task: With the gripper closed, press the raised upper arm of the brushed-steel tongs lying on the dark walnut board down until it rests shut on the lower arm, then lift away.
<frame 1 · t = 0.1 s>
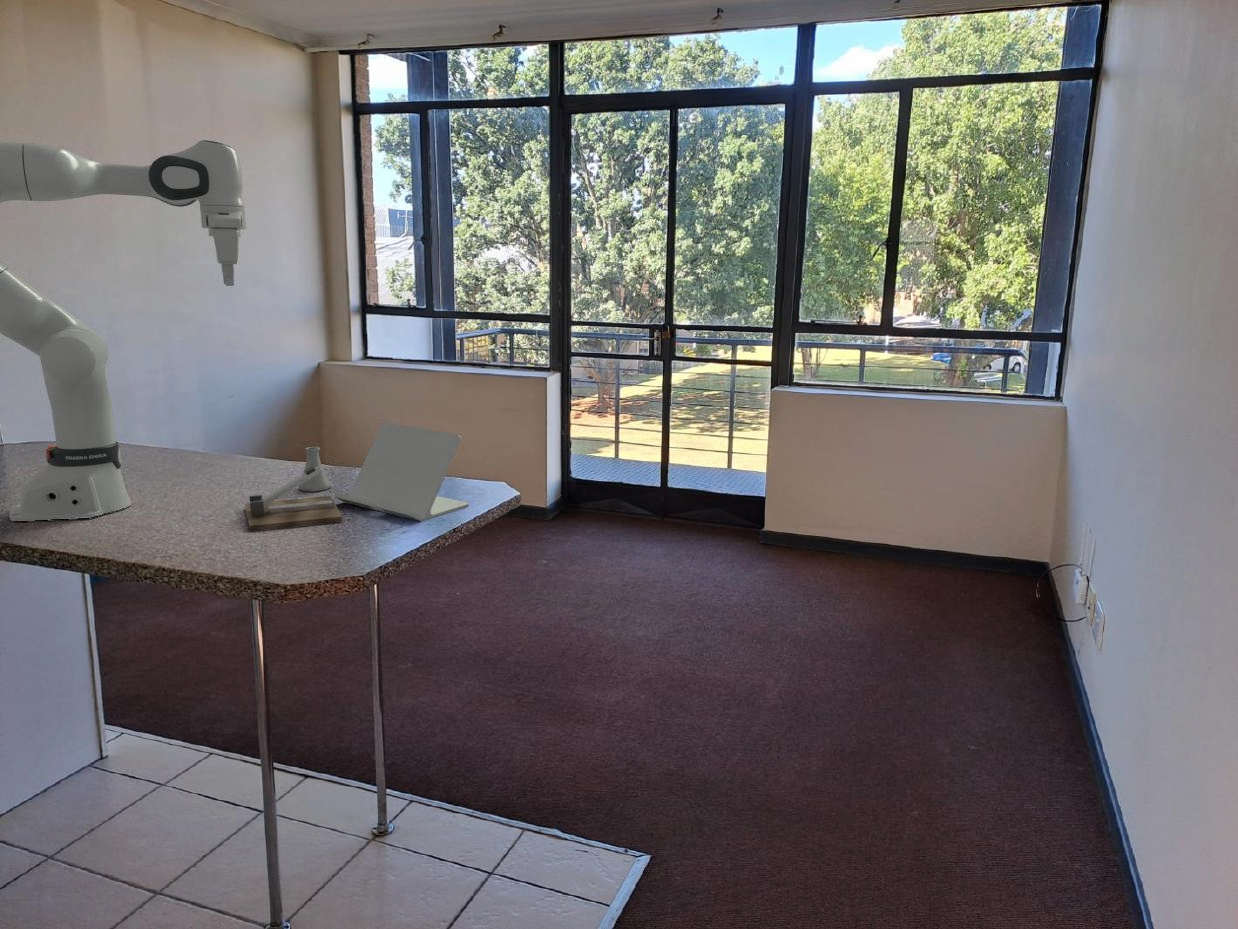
hand: (228, 285, 194), 48 cm above the countertop, tool pointing down, fingers open, 8 cm apart
upper tong arm: (286, 488, 187), point 6 cm above the countertop, hinge at 28.0°
walnut board: (292, 515, 189), on the countertop
flask: (315, 489, 211), on the countertop
tablet stand: (401, 507, 198), on the countertop
lower tong arm: (257, 518, 186), resting on walnut board
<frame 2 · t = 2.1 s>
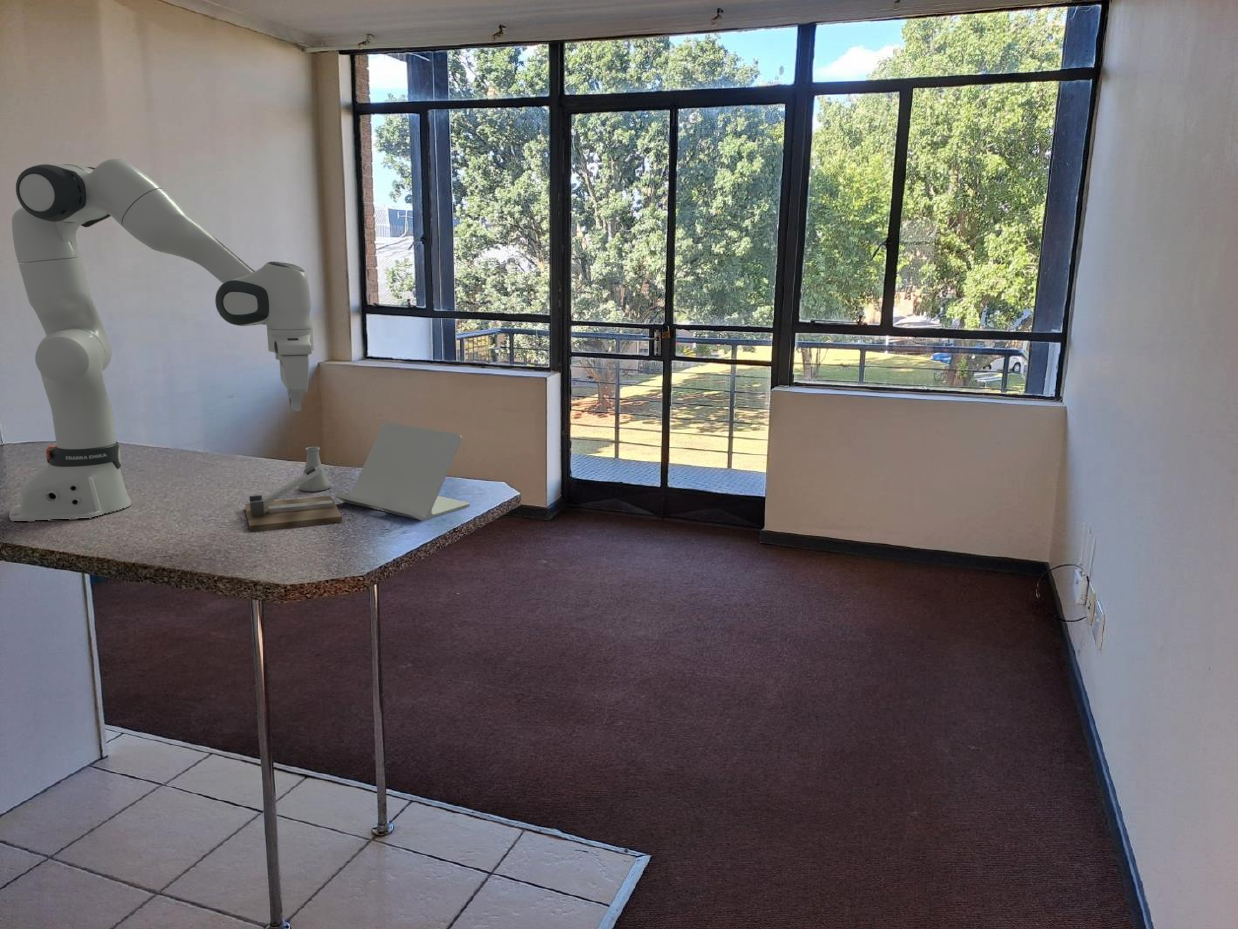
hand: (295, 408, 184), 23 cm above the countertop, tool pointing down, fingers open, 4 cm apart
nothing on the countertop moved.
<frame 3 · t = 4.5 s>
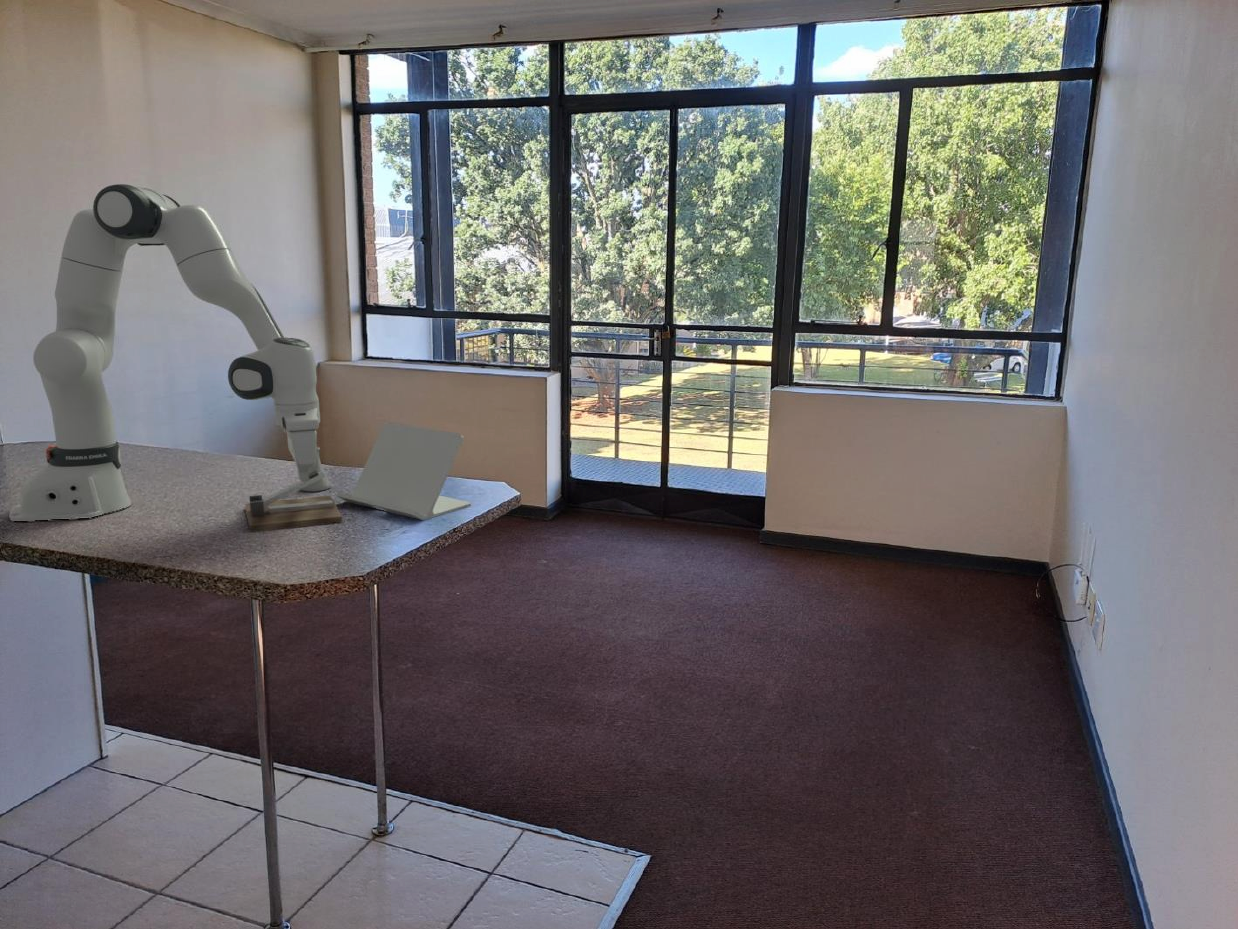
hand: (303, 479, 188), 8 cm above the countertop, tool pointing down, fingers closed, pressing on upper tong arm
upper tong arm: (288, 490, 187), point 6 cm above the countertop, hinge at 22.9°, touching gripper
everything else where it was.
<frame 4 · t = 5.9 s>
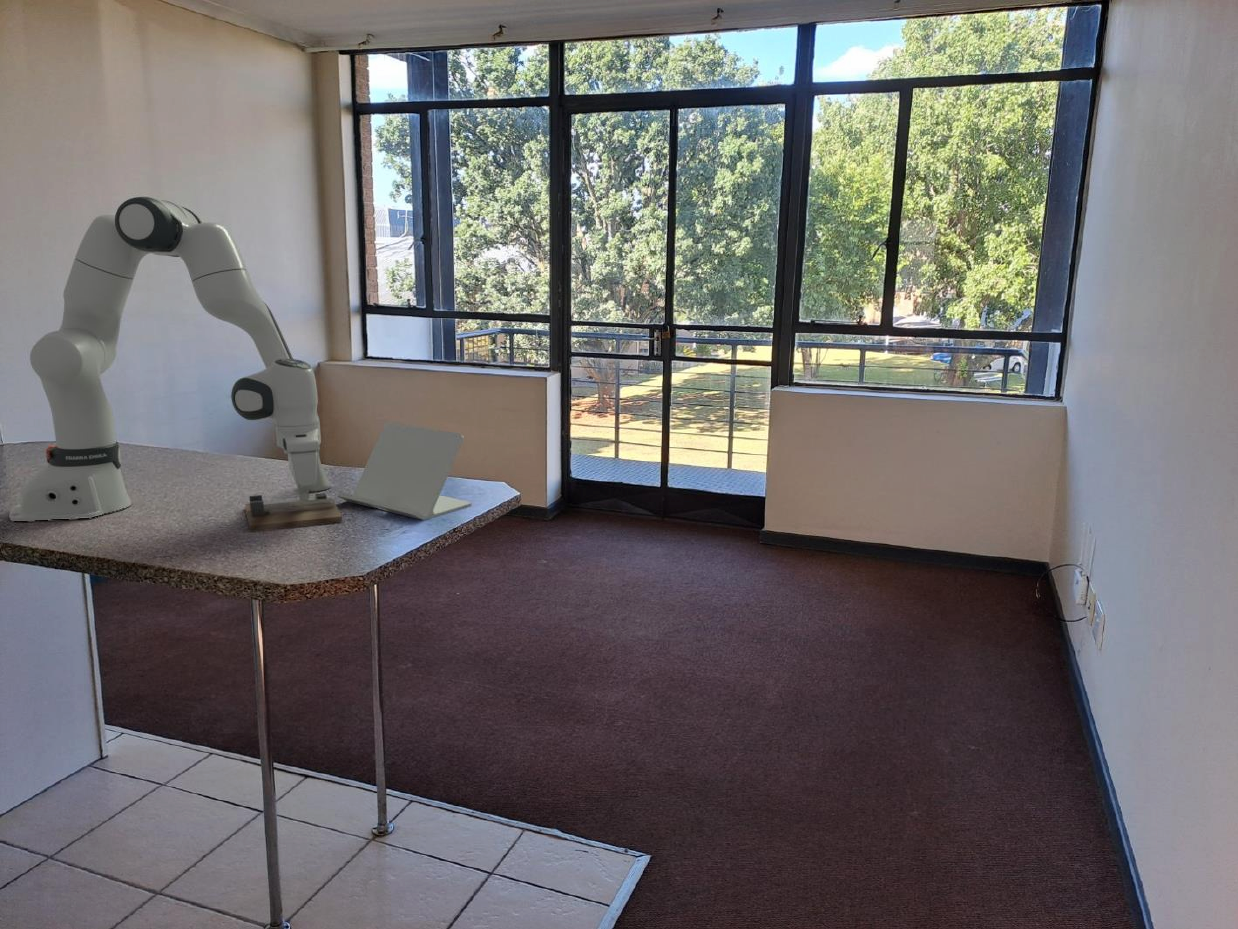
hand: (303, 499, 189), 3 cm above the countertop, tool pointing down, fingers closed, pressing on upper tong arm
upper tong arm: (291, 502, 188), point 3 cm above the countertop, hinge at 0.3°, touching gripper
everything else where it was.
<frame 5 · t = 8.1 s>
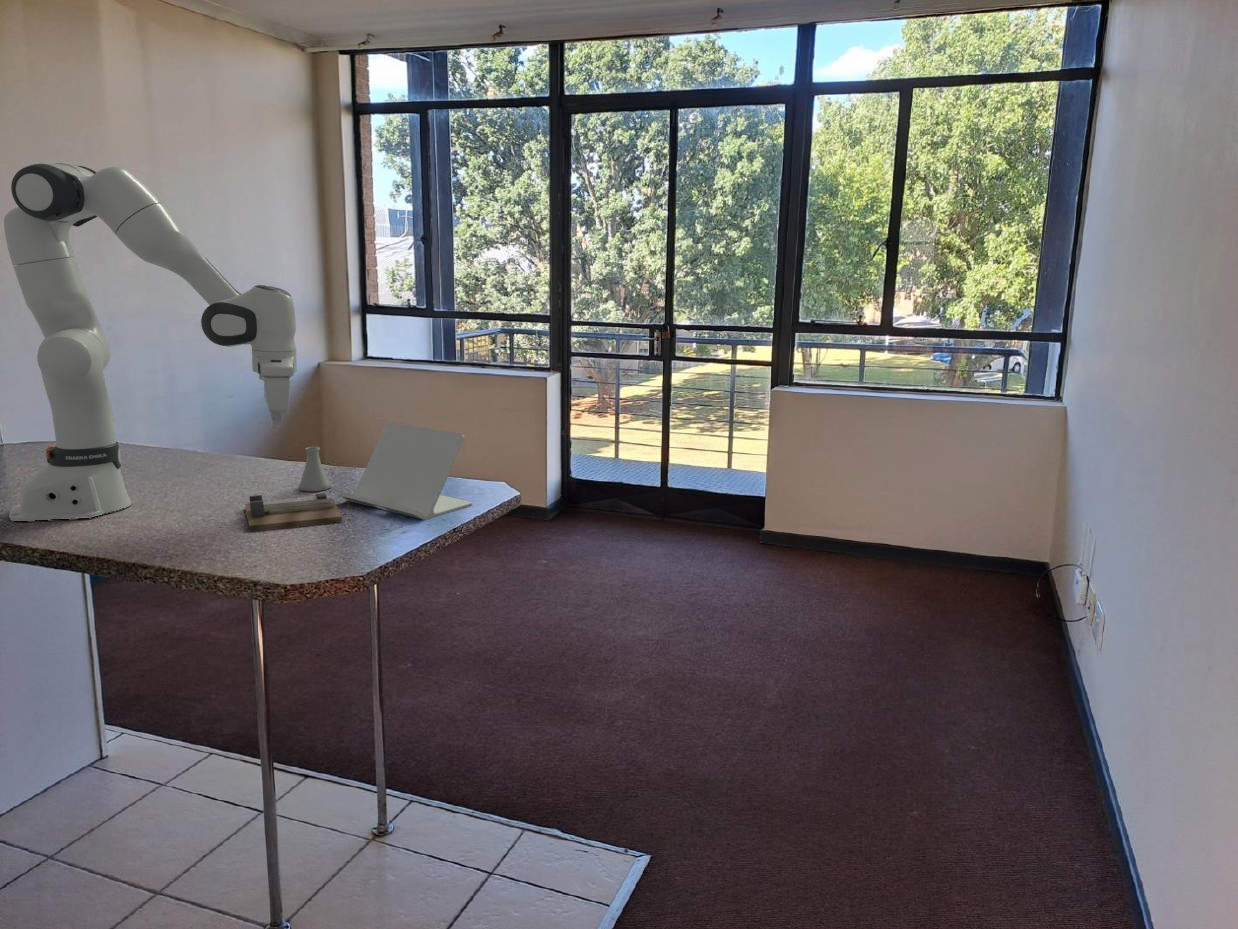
hand: (276, 427, 190), 18 cm above the countertop, tool pointing down, fingers closed
upper tong arm: (291, 502, 188), point 3 cm above the countertop, hinge at 0.2°
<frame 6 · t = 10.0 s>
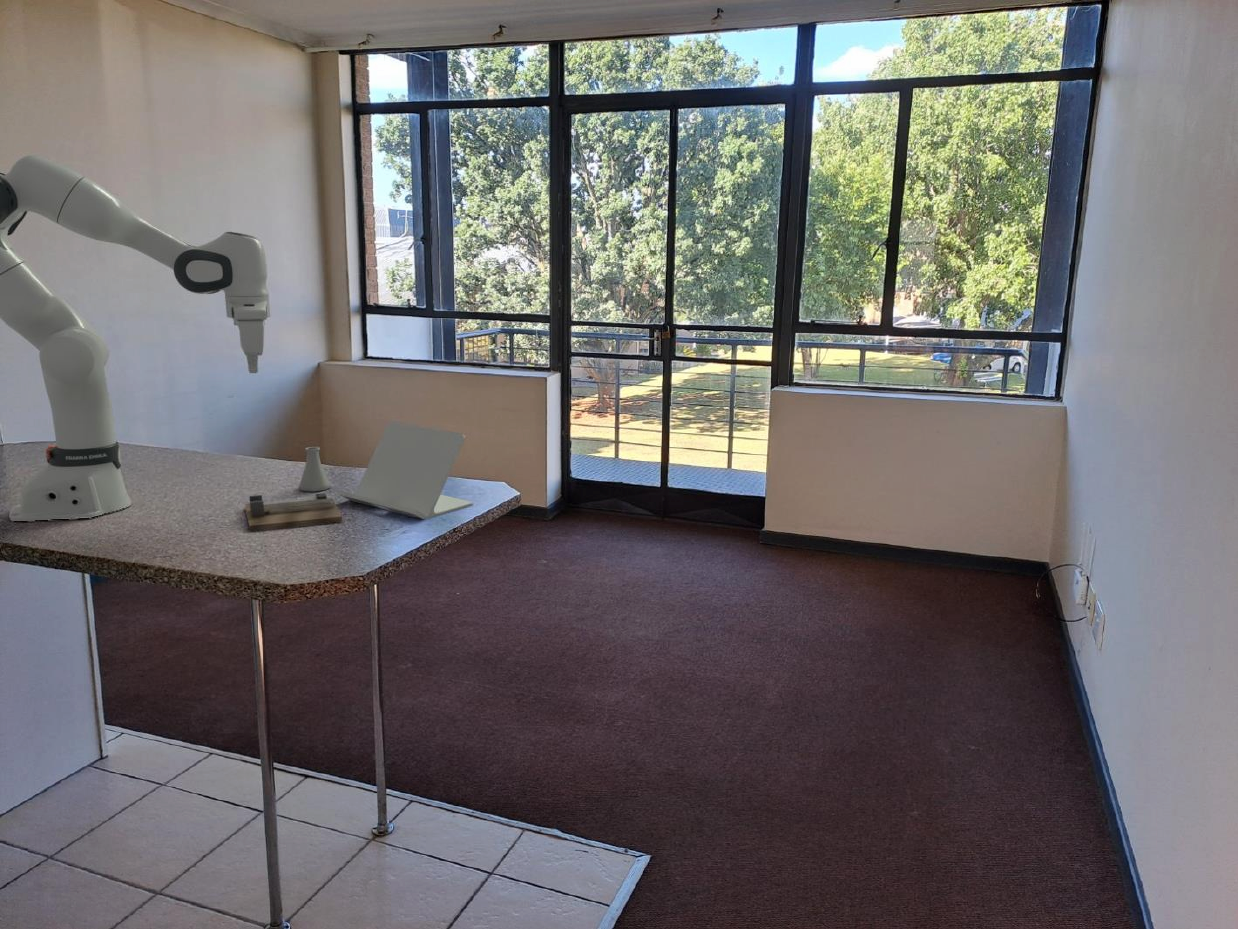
hand: (253, 372, 194), 29 cm above the countertop, tool pointing down, fingers closed
at the end: upper tong arm at +0° (first picture: +28°); flask moved 0.3 cm from its start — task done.
